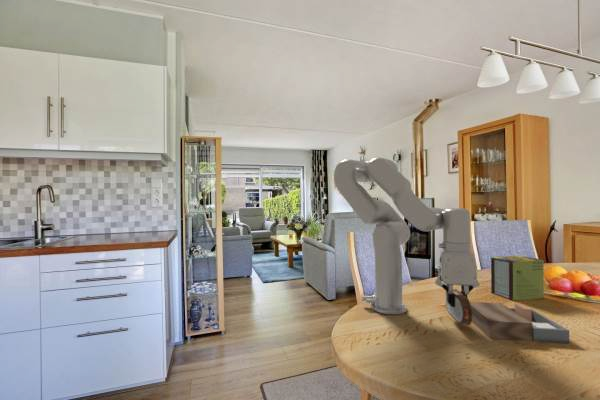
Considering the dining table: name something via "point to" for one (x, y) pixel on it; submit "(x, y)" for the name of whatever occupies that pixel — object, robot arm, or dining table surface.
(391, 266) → the robot arm
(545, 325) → the cream tile
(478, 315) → the brown flat block
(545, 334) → the box
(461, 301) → the tin
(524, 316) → the terracotta tile
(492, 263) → the protein box
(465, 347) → the dining table surface
